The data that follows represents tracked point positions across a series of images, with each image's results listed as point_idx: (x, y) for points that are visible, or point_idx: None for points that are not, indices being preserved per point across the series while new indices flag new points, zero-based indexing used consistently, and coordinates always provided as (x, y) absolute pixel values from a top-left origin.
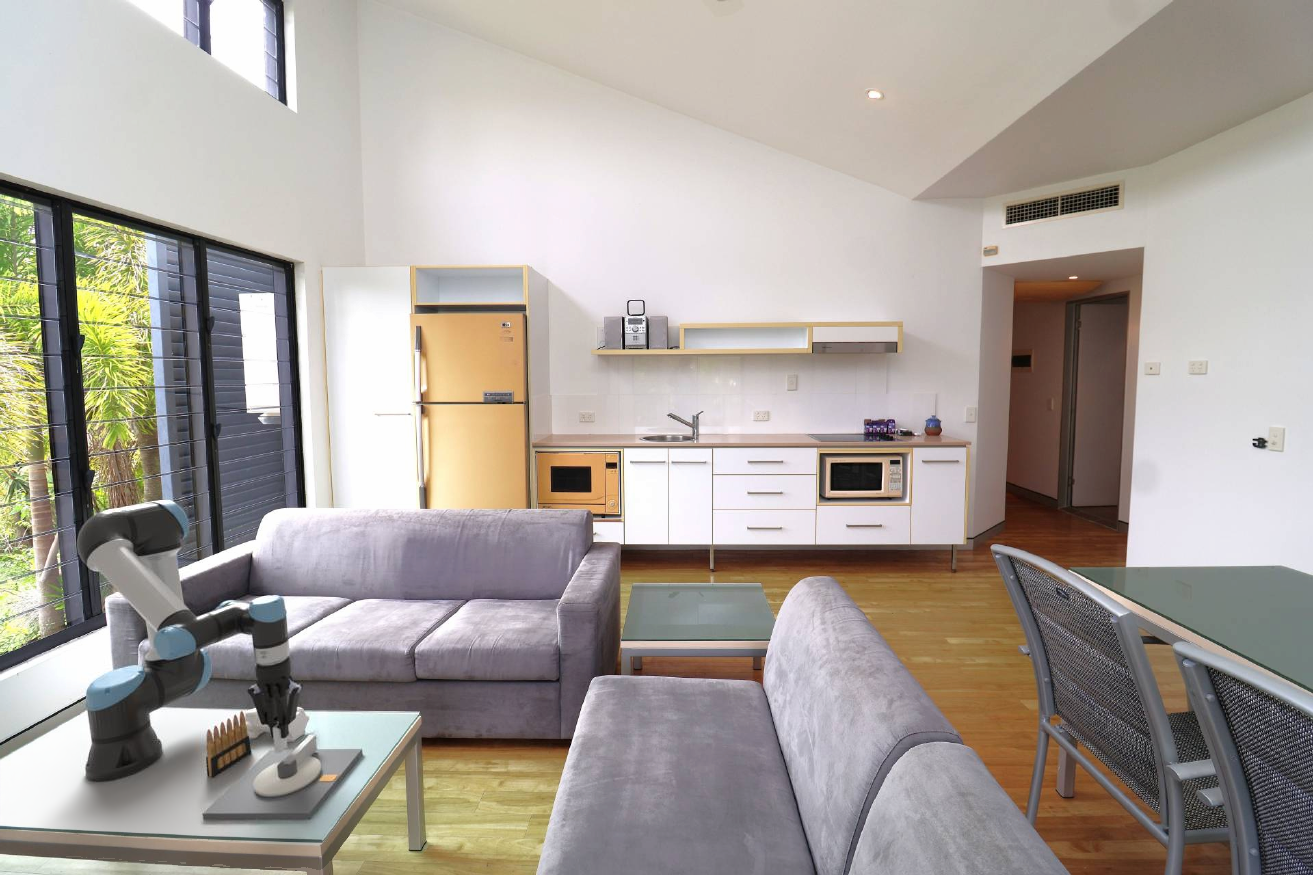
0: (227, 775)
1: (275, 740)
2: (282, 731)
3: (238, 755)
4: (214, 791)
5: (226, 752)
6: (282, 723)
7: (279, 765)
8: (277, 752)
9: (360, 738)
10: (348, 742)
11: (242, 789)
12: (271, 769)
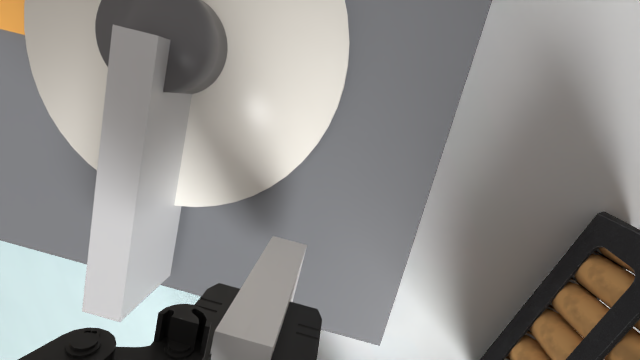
0: (533, 214)
1: (283, 278)
2: (213, 317)
3: (527, 342)
4: (557, 87)
5: (603, 323)
6: (151, 352)
7: (191, 29)
8: (292, 241)
9: (34, 340)
10: (72, 325)
11: (403, 4)
12: (288, 113)
